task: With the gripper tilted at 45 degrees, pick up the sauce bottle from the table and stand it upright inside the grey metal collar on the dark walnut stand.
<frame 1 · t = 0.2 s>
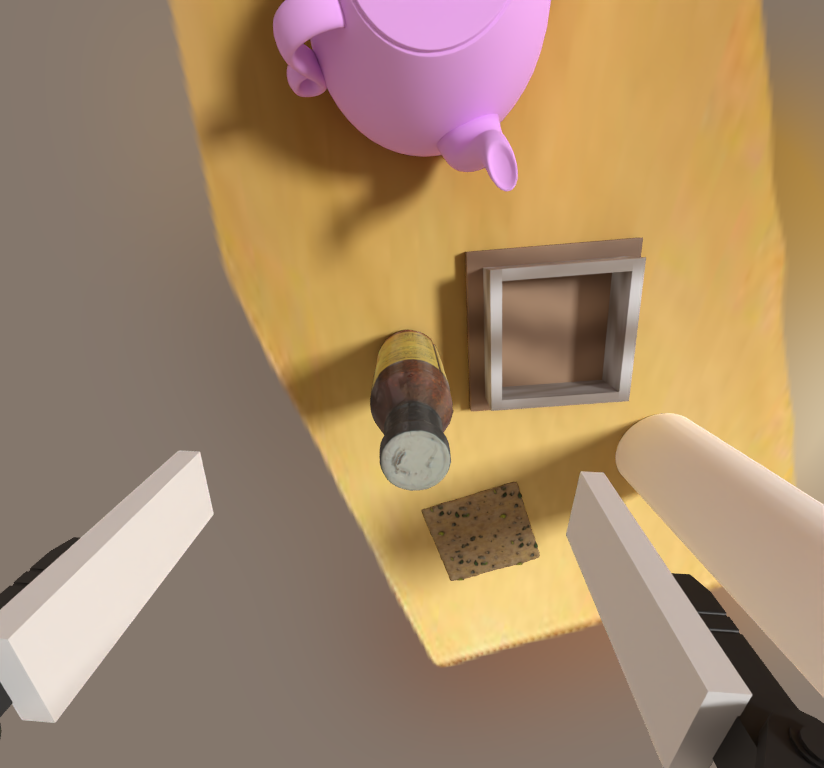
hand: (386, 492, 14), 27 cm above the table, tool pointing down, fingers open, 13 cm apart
walnut stand: (547, 329, 39), on the table
teapot: (435, 76, 32), on the table
sauce bottle: (410, 357, 40), on the table
cylinder container: (656, 450, 44), on the table
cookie: (480, 530, 48), on the table
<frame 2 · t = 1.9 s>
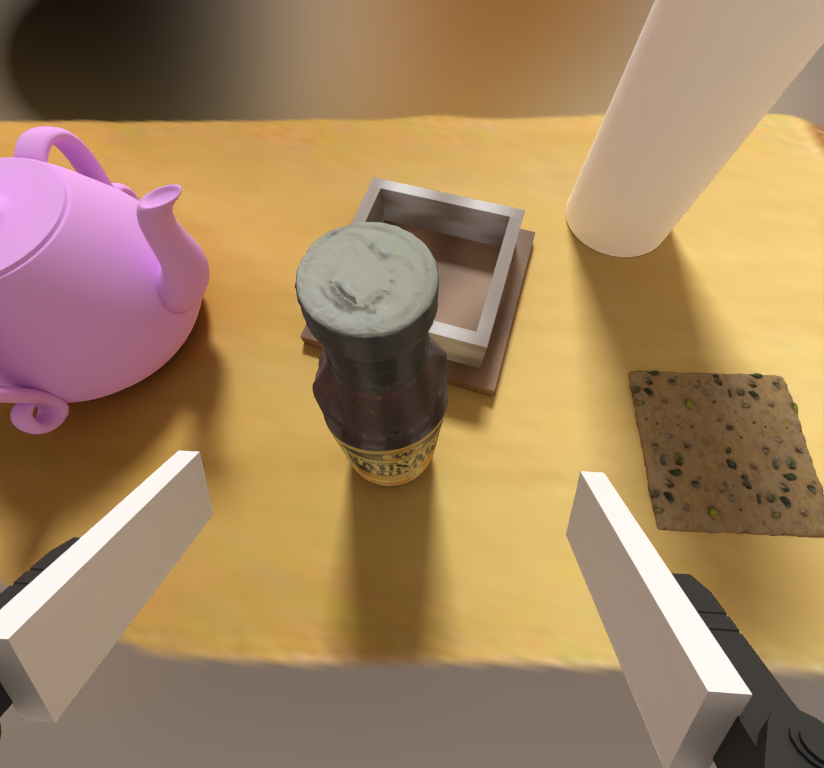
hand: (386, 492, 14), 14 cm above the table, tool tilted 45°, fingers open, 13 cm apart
walnut stand: (423, 288, 34), on the table
teapot: (147, 321, 34), on the table
sauce bottle: (394, 446, 29), on the table
cylinder container: (615, 218, 37), on the table
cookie: (717, 450, 29), on the table
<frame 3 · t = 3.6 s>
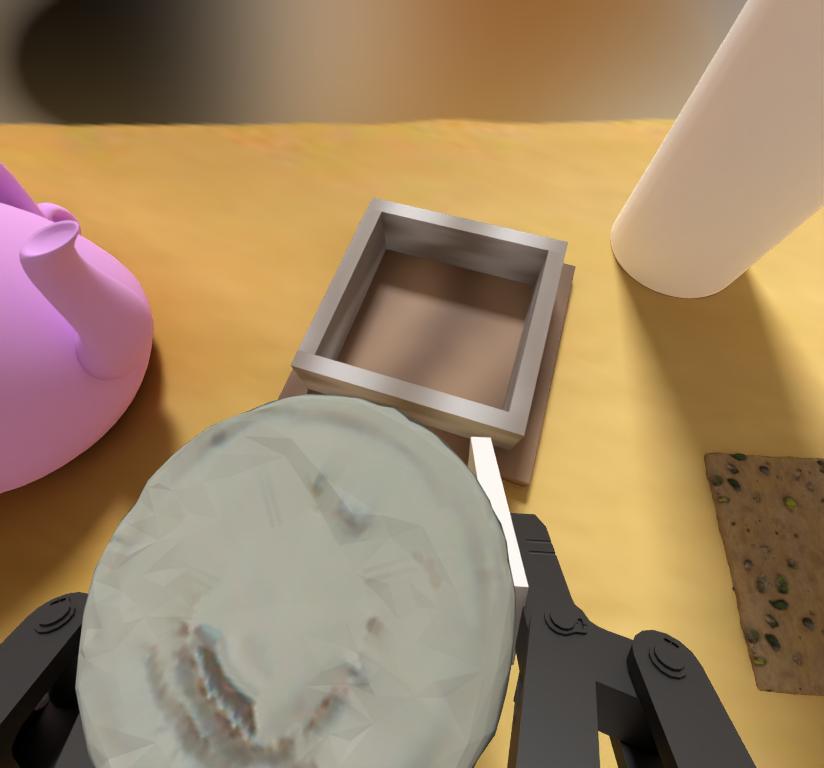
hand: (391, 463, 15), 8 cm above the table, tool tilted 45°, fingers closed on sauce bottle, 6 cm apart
walnut stand: (435, 337, 27), on the table
teapot: (86, 376, 27), on the table
sauce bottle: (397, 556, 22), on the table, touching gripper
cylinder container: (672, 247, 30), on the table
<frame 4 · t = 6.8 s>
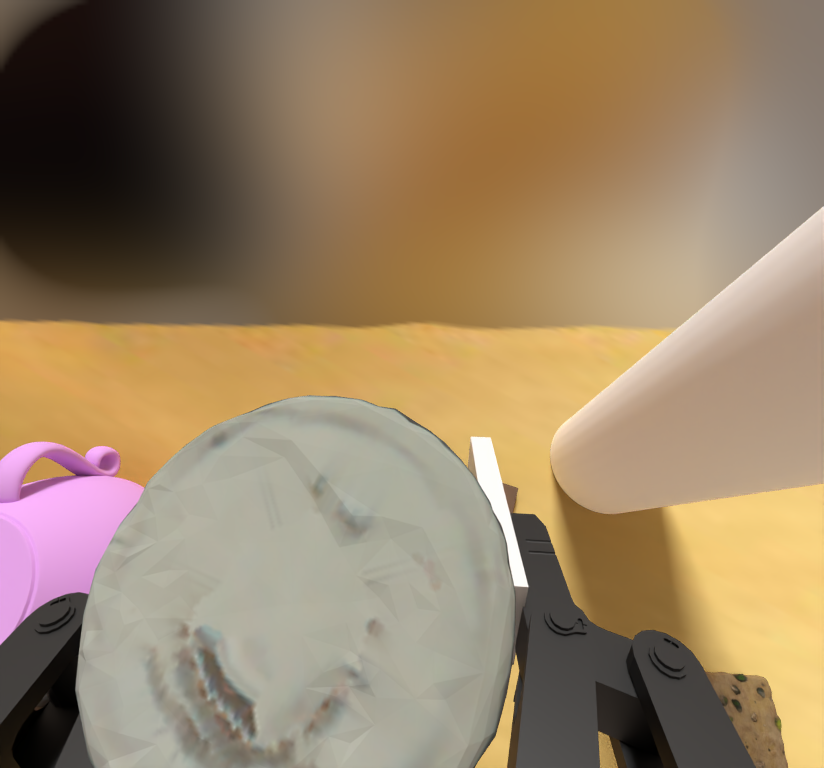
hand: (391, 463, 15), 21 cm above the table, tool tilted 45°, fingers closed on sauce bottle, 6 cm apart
teapot: (126, 583, 33), on the table
sauce bottle: (396, 557, 22), point 13 cm above the table, touching gripper
cylinder container: (600, 461, 36), on the table
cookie: (697, 765, 28), on the table
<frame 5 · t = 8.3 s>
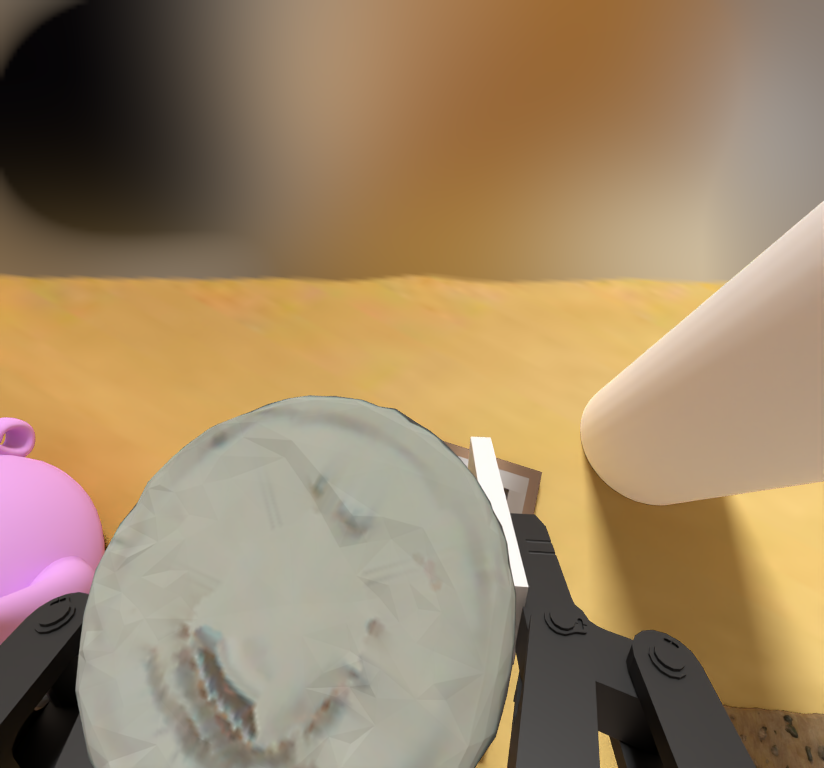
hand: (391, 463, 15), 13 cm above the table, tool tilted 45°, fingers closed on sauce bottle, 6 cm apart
walnut stand: (397, 551, 26), on the table
teapot: (39, 593, 26), on the table
sauce bottle: (396, 557, 22), point 5 cm above the table, touching gripper
cylinder container: (643, 439, 29), on the table
when the fingers open (11 cm above the table, at t = 9.8 s): sauce bottle drops 1 cm, resting on walnut stand.
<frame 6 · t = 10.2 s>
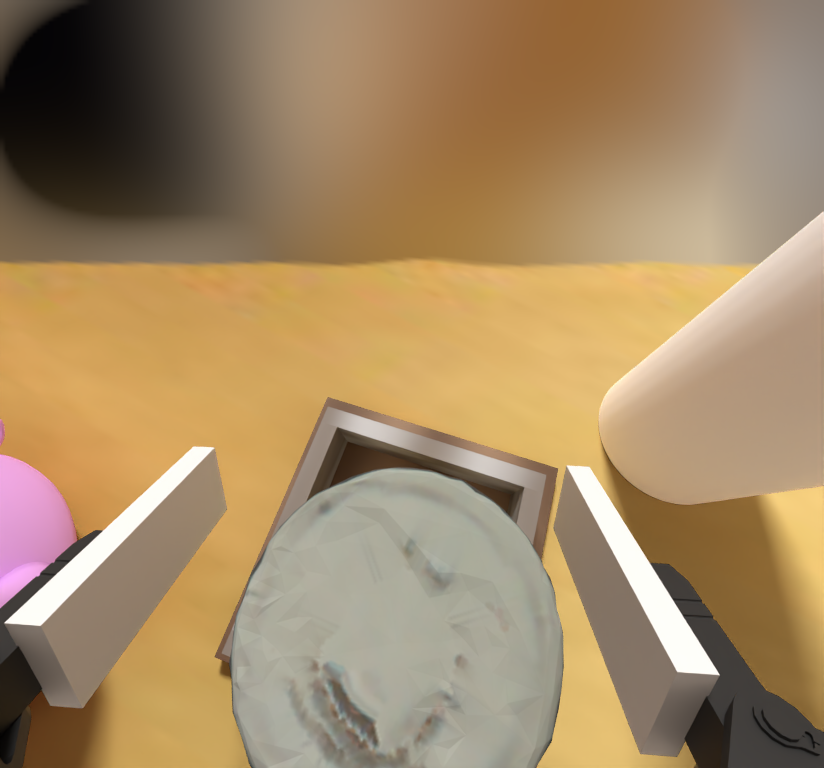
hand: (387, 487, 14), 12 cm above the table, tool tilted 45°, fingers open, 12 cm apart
walnut stand: (399, 555, 24), on the table
teapot: (7, 601, 24), on the table
sauce bottle: (395, 558, 23), point 1 cm above the table, touching walnut stand
cylinder container: (667, 433, 27), on the table
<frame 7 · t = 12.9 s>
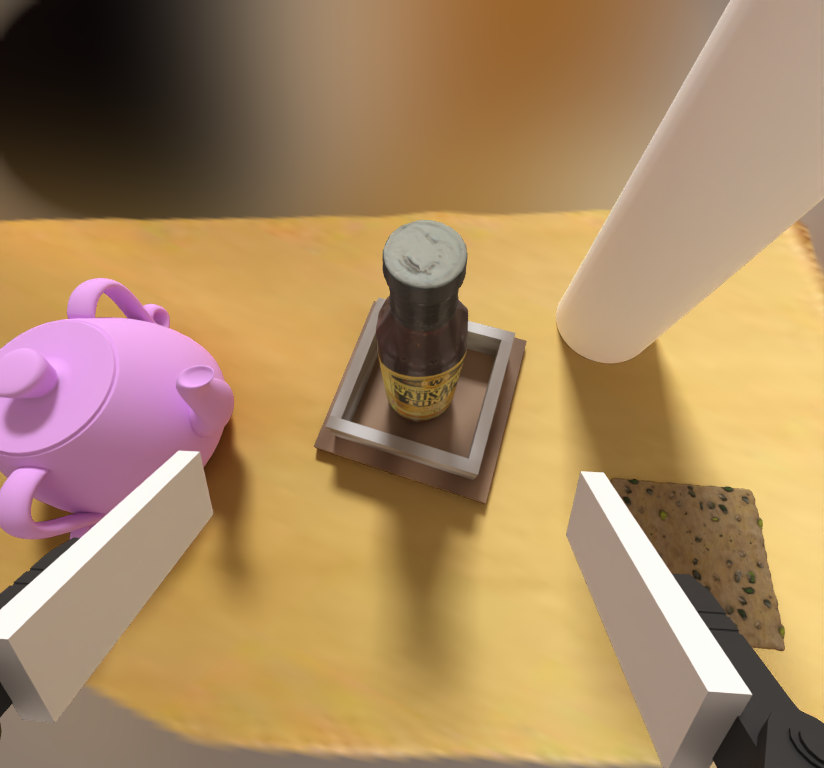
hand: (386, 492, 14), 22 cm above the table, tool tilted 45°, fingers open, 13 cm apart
walnut stand: (424, 395, 38), on the table
teapot: (178, 425, 38), on the table
sauce bottle: (422, 393, 37), point 1 cm above the table, touching walnut stand
cylinder container: (602, 322, 40), on the table
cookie: (686, 557, 32), on the table
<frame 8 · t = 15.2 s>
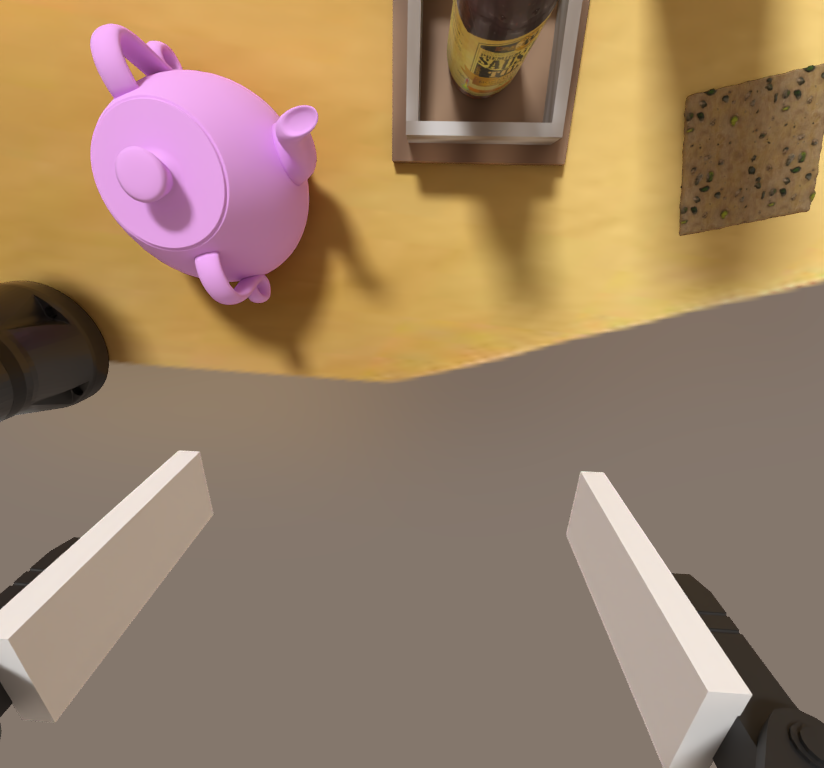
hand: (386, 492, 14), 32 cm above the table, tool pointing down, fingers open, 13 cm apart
walnut stand: (484, 59, 34), on the table
teapot: (255, 182, 39), on the table
sauce bottle: (483, 58, 33), point 1 cm above the table, touching walnut stand
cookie: (745, 157, 36), on the table
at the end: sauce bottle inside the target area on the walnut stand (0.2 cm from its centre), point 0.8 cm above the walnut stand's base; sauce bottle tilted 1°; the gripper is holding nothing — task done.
